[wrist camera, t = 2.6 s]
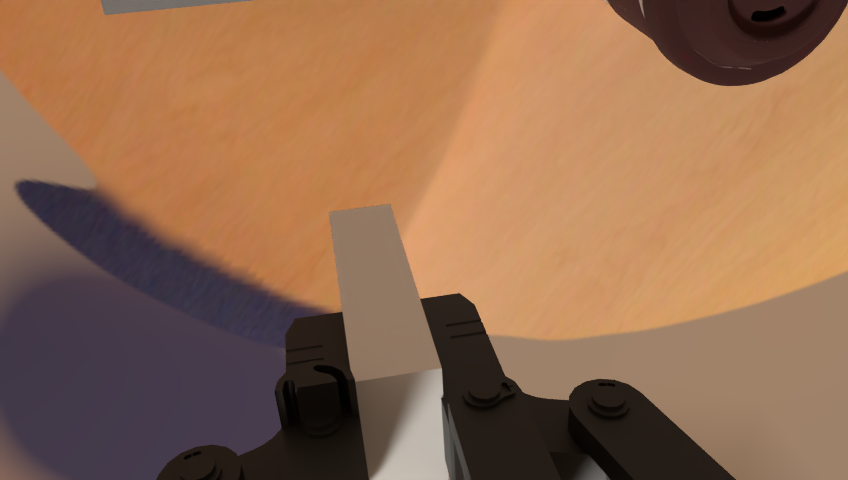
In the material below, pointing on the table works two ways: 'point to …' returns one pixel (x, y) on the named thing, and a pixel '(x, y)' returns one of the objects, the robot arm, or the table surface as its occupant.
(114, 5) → the power strip
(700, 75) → the coffee cup
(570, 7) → the table surface
